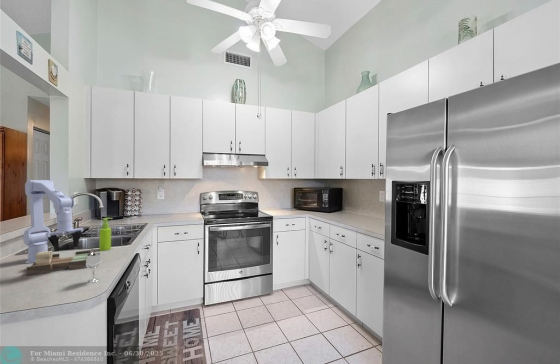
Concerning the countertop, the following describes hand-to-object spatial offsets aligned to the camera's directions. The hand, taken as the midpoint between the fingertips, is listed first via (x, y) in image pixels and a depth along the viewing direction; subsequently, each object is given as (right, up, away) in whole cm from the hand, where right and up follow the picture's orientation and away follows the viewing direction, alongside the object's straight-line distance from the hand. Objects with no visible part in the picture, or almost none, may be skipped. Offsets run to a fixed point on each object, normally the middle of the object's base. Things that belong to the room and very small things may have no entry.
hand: (66, 248), depth 120 cm
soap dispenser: (-5, -10, +35) cm, 37 cm away
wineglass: (+22, -12, -11) cm, 27 cm away
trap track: (-7, -10, +7) cm, 14 cm away
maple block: (-14, -8, +3) cm, 16 cm away
